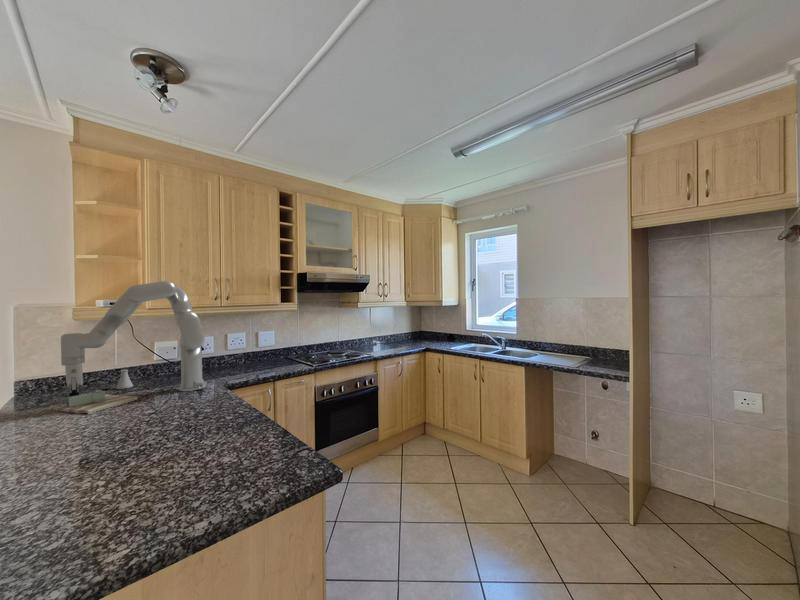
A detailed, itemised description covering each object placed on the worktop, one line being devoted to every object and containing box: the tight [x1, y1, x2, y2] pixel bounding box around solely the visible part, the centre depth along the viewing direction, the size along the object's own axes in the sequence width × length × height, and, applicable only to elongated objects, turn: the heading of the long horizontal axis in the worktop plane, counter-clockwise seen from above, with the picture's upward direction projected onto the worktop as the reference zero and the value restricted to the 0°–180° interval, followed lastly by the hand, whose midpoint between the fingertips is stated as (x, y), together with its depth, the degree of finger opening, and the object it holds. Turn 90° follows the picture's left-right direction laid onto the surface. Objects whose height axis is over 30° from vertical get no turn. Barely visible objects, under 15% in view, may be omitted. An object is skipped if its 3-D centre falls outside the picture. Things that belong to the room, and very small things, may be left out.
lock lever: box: [65, 389, 106, 407], centre depth 147 cm, size 13×5×5 cm, turn 138°
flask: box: [115, 368, 134, 390], centre depth 180 cm, size 7×7×10 cm
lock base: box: [55, 394, 139, 415], centre depth 149 cm, size 20×20×2 cm
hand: (74, 401), depth 146 cm, fingers closed
